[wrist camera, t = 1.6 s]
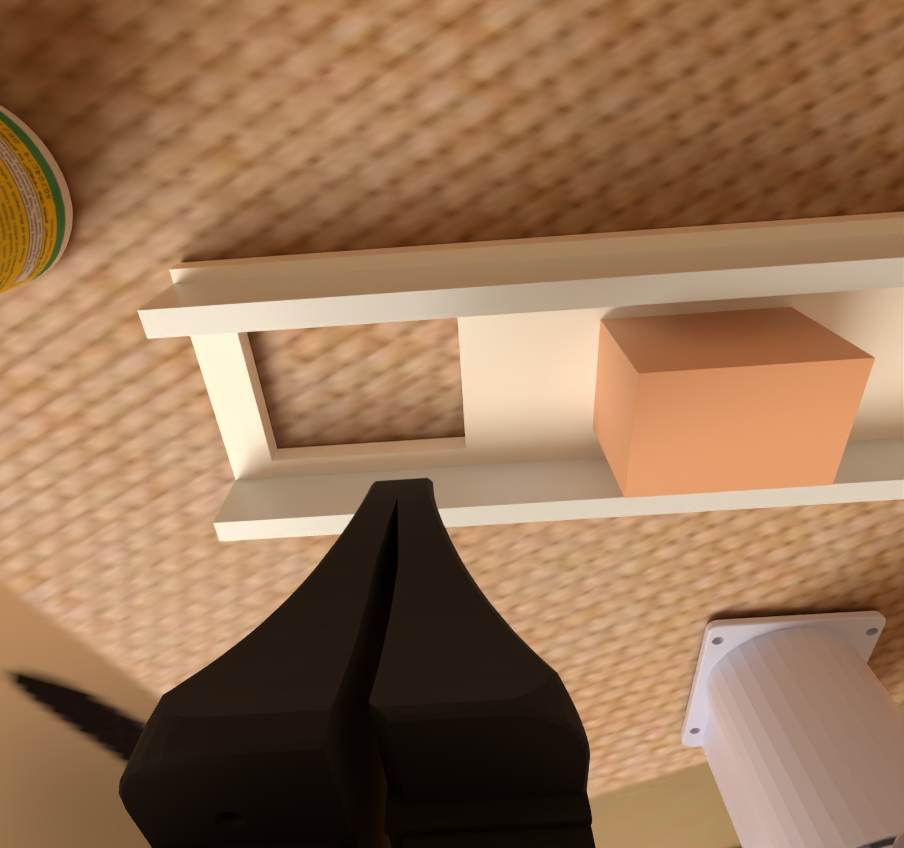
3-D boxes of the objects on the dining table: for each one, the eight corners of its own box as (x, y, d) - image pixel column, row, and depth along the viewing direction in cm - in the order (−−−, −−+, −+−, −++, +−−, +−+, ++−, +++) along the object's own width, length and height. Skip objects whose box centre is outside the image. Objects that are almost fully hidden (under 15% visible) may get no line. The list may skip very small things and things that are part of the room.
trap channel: (898, 453, 22) (964, 505, 19) (250, 494, 22) (223, 551, 19) (995, 205, 17) (1102, 225, 14) (179, 262, 18) (131, 294, 15)
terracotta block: (764, 417, 20) (832, 484, 16) (592, 428, 20) (624, 497, 17) (791, 306, 18) (875, 357, 14) (600, 319, 18) (638, 373, 15)
